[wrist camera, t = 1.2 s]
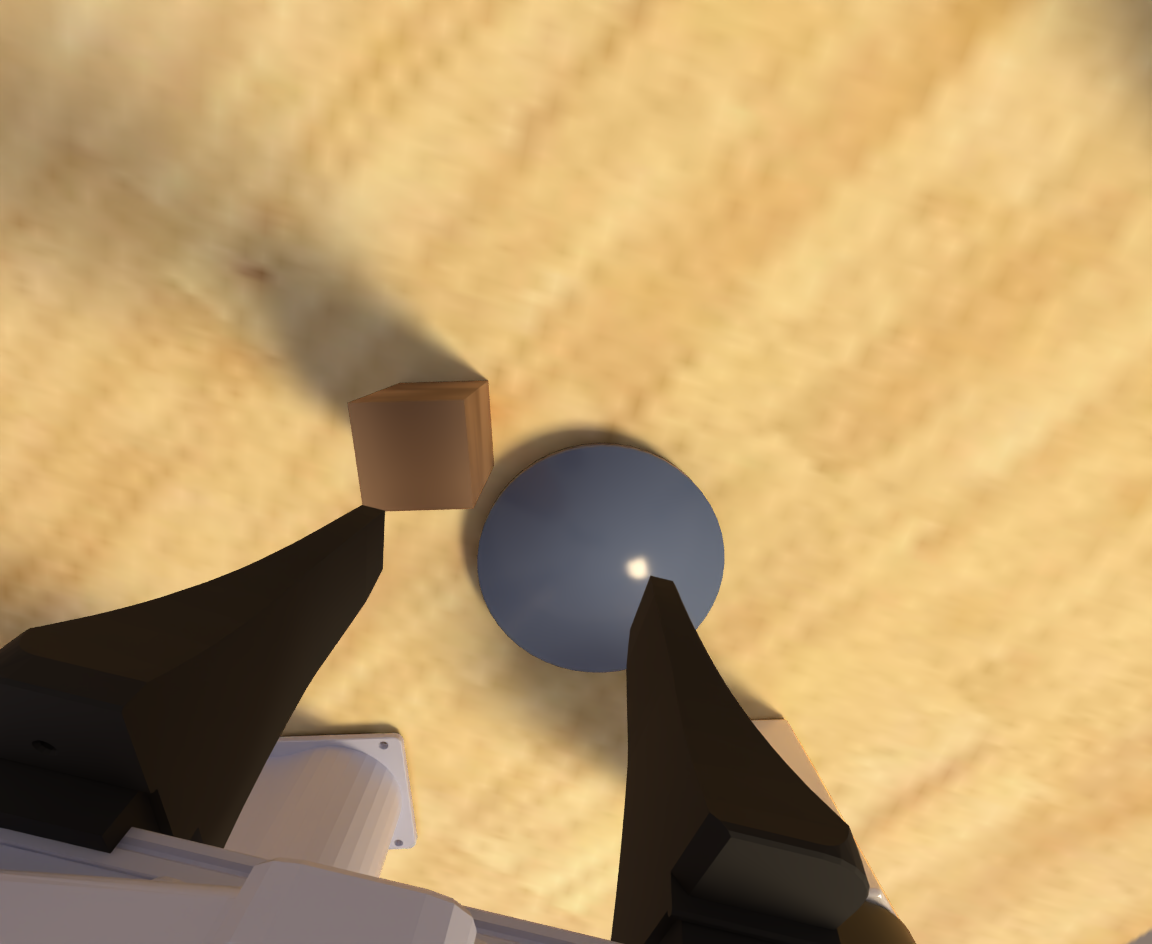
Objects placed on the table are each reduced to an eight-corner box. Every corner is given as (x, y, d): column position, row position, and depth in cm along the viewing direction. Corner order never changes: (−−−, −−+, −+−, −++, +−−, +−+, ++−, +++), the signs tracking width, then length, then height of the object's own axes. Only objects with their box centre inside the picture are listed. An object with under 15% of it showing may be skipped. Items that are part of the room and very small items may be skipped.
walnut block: (410, 467, 25) (363, 511, 19) (400, 382, 24) (347, 402, 18) (494, 465, 25) (473, 508, 19) (488, 380, 24) (463, 399, 18)
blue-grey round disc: (489, 664, 28) (486, 676, 27) (471, 445, 25) (467, 450, 24) (712, 656, 28) (717, 668, 27) (724, 438, 25) (731, 443, 24)
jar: (641, 750, 30) (688, 1022, 18) (770, 687, 29) (908, 932, 17) (711, 851, 32) (793, 1149, 20) (833, 795, 31) (993, 1077, 19)
